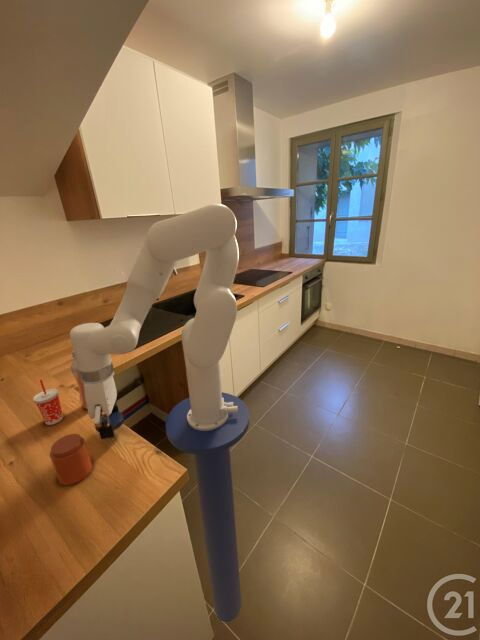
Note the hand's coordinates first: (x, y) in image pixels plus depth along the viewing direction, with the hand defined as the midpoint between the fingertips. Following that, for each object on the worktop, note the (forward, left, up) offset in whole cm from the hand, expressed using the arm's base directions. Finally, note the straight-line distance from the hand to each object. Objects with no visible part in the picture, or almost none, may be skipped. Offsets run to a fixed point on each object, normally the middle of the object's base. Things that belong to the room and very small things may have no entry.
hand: (111, 426), depth 72 cm
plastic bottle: (+12, -14, -3) cm, 18 cm away
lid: (0, 0, +2) cm, 2 cm away
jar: (+4, +12, -2) cm, 13 cm away
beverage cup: (+21, -8, -3) cm, 22 cm away
